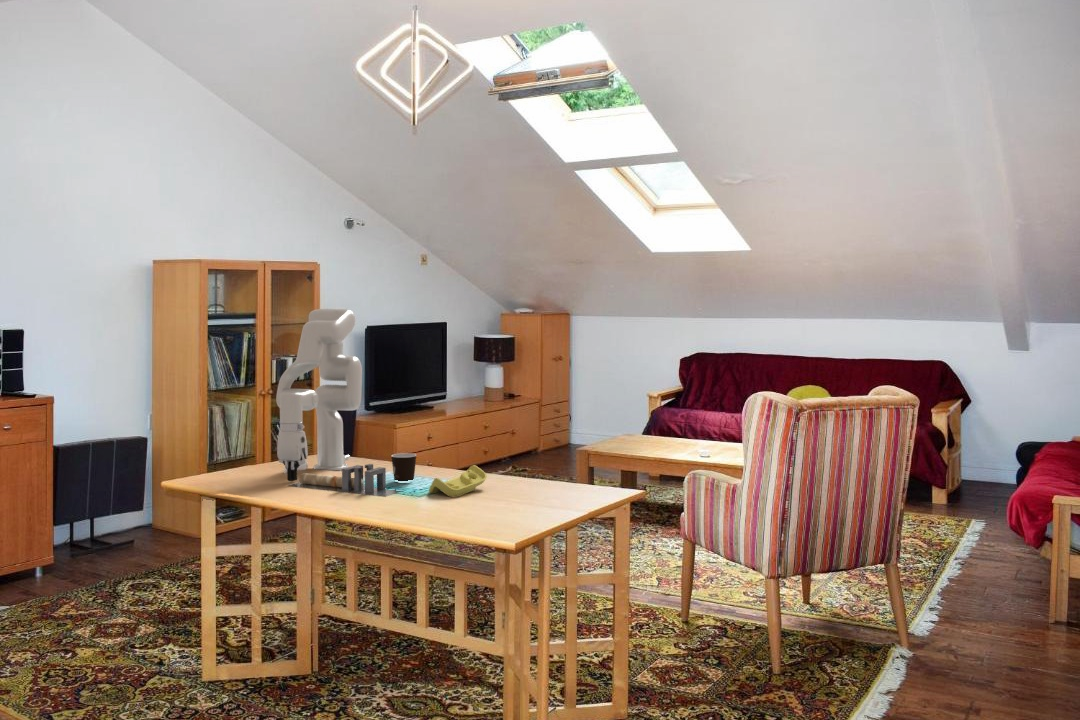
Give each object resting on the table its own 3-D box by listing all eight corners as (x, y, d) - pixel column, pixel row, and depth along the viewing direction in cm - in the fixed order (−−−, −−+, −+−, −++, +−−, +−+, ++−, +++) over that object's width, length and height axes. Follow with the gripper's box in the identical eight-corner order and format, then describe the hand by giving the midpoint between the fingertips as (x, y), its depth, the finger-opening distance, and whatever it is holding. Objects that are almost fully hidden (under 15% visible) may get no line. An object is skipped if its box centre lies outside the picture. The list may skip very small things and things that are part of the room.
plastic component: (454, 491, 309) (432, 475, 314) (448, 510, 312) (426, 493, 317) (492, 477, 325) (471, 462, 330) (486, 495, 328) (464, 480, 333)
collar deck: (309, 482, 336) (308, 457, 335) (406, 492, 319) (405, 466, 318) (286, 488, 325) (285, 462, 324) (385, 499, 308) (385, 472, 307)
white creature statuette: (285, 469, 361) (284, 437, 360) (308, 468, 362) (308, 436, 362) (283, 473, 351) (282, 441, 351) (307, 473, 353) (307, 440, 352)
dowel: (299, 484, 328) (298, 473, 327) (306, 482, 331) (305, 472, 331) (357, 490, 318) (356, 479, 317) (363, 488, 321) (363, 477, 321)
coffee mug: (414, 486, 328) (414, 457, 328) (389, 486, 329) (389, 457, 328) (419, 480, 340) (419, 452, 339) (395, 479, 340) (395, 451, 339)
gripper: (315, 427, 330) (316, 480, 331) (281, 424, 337) (282, 476, 338) (301, 430, 323) (302, 484, 325) (266, 427, 330) (267, 480, 331)
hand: (292, 480), depth 331 cm, fingers closed
